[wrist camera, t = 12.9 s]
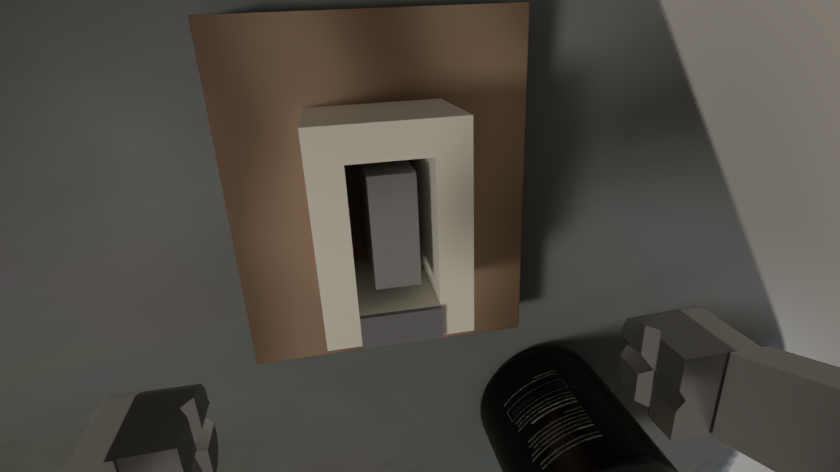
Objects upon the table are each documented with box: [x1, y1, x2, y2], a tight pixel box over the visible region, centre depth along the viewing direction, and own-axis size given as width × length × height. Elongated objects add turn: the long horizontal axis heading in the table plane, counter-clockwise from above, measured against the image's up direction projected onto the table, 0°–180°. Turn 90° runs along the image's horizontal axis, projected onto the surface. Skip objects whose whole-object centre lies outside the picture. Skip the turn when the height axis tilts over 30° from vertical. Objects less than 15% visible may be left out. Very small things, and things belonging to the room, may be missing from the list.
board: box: [188, 2, 529, 364], centre depth 21 cm, size 12×14×2 cm
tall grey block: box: [359, 160, 422, 290], centre depth 19 cm, size 2×4×4 cm, turn 2°
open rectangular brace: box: [298, 98, 474, 351], centre depth 18 cm, size 8×5×5 cm
